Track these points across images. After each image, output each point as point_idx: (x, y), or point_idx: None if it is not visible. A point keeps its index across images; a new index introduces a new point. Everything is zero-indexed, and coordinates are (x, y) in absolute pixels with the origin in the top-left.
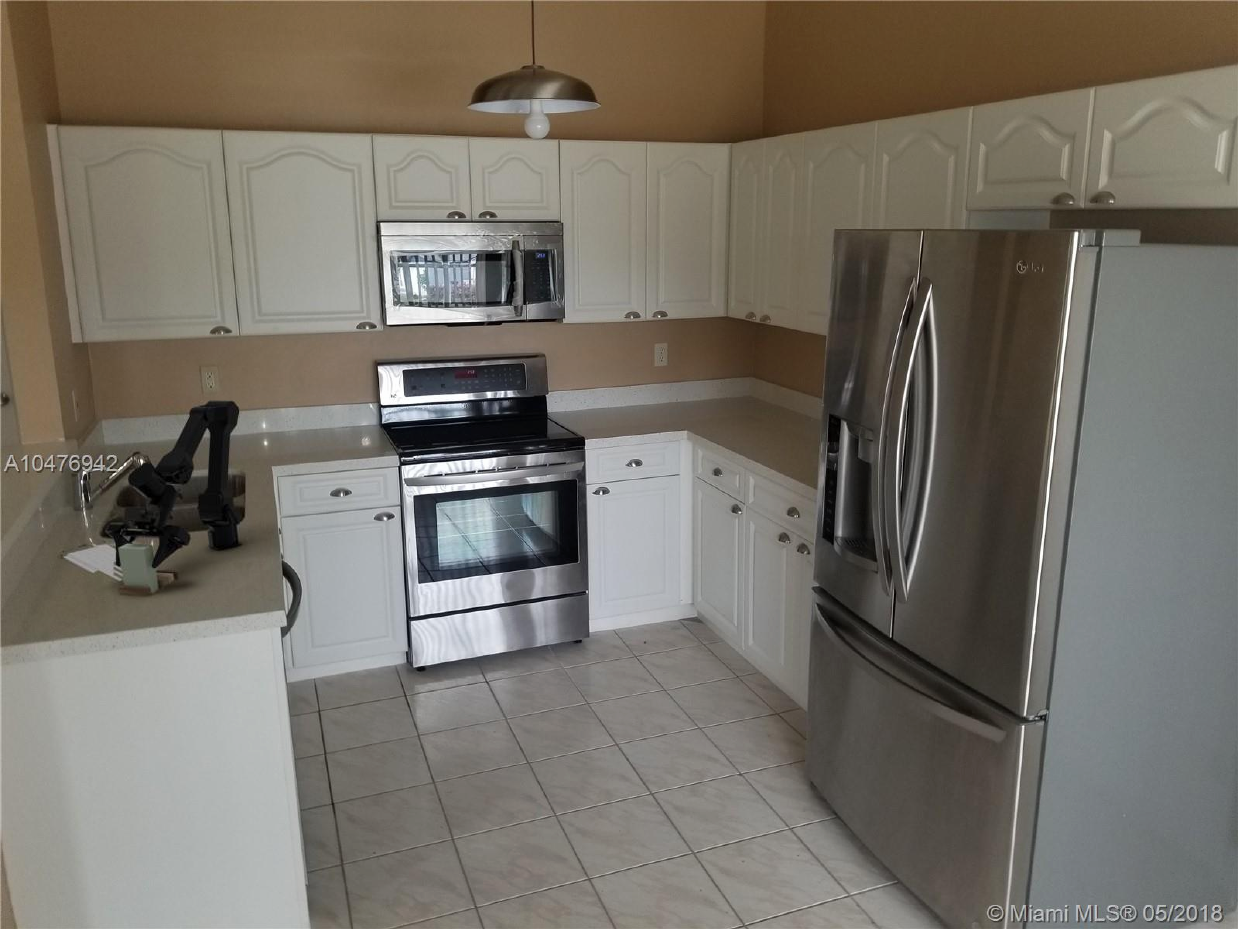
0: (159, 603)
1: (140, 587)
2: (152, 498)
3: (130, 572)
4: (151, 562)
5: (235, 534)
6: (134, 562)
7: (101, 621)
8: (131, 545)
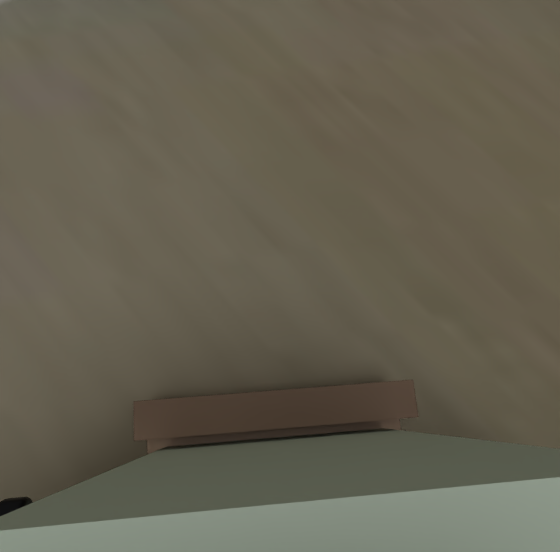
0: (29, 356)
1: (220, 416)
2: None
3: (342, 444)
4: None
5: None
6: (277, 462)
7: (215, 61)
8: None
